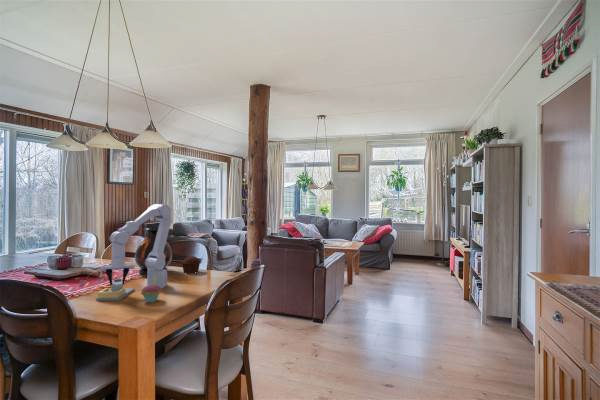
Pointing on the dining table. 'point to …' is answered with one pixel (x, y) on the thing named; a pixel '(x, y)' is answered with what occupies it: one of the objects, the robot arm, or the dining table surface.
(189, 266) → the muffin
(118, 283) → the cart
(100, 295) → the dock
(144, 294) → the cupcake
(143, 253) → the amphora vase
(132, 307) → the dining table surface
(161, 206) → the robot arm
